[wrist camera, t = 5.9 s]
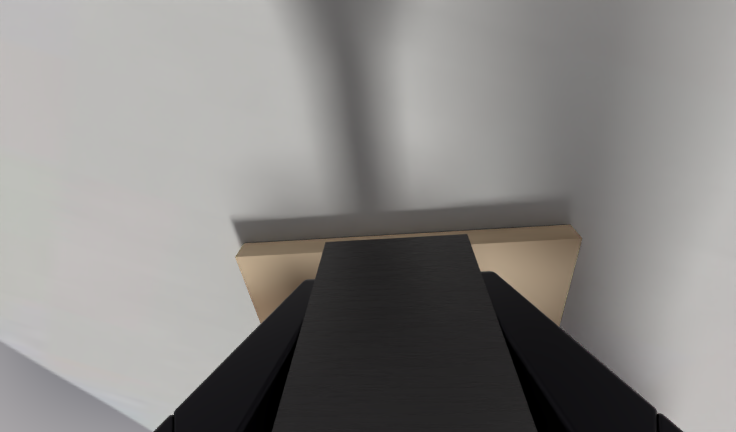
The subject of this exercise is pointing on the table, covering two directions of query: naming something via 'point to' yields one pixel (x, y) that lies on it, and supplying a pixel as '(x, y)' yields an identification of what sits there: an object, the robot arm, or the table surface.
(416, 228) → the table surface
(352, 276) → the shaft
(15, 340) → the table surface
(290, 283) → the base plate
